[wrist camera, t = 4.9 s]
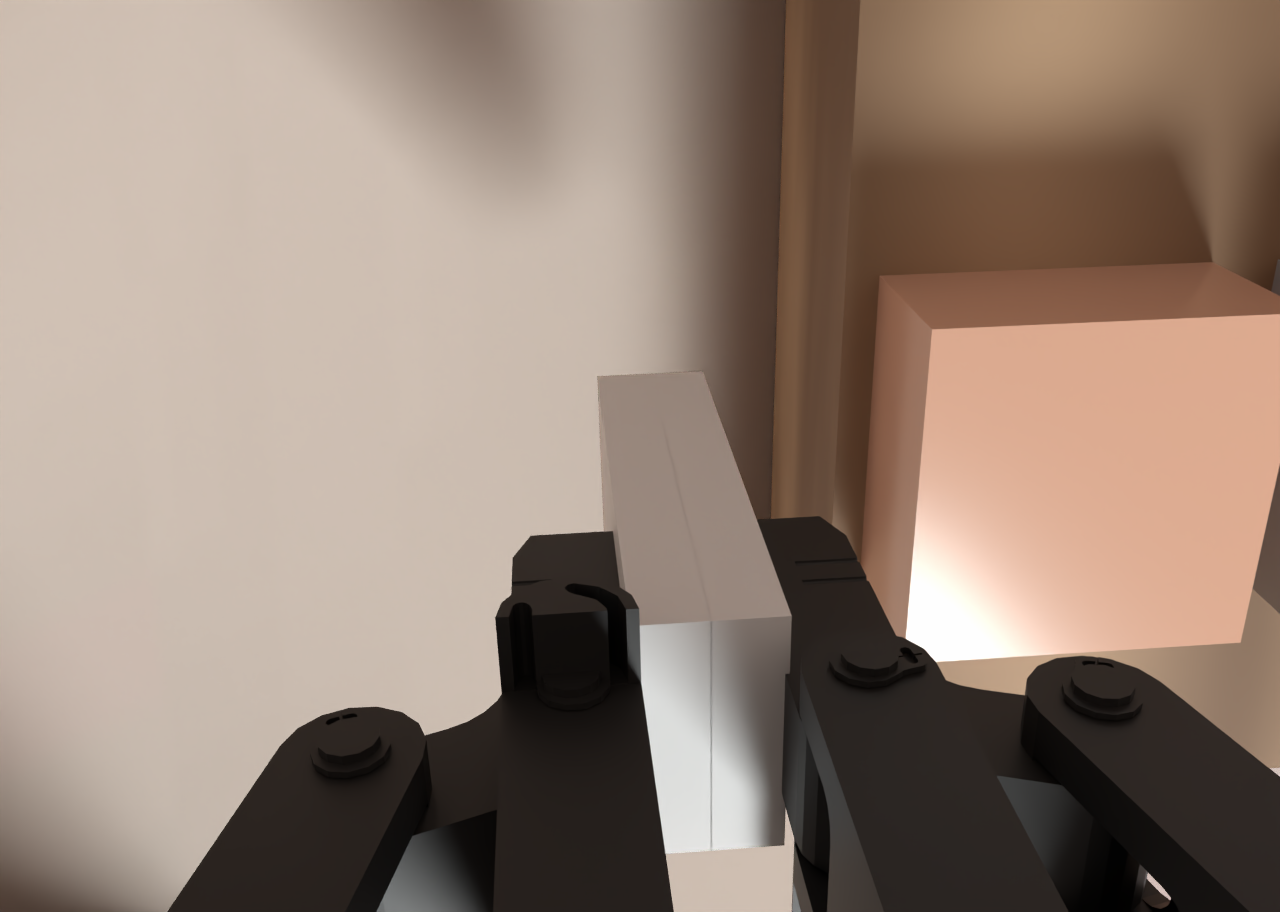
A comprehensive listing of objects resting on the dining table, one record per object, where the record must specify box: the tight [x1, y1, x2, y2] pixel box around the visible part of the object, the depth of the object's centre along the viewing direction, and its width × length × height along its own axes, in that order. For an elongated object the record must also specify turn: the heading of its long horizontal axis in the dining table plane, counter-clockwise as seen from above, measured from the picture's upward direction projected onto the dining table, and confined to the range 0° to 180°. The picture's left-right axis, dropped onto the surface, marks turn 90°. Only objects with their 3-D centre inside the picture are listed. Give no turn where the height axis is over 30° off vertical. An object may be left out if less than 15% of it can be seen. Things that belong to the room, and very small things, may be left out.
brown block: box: [771, 0, 1280, 768], centre depth 21 cm, size 12×14×5 cm
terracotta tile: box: [861, 262, 1280, 662], centre depth 17 cm, size 5×5×2 cm
